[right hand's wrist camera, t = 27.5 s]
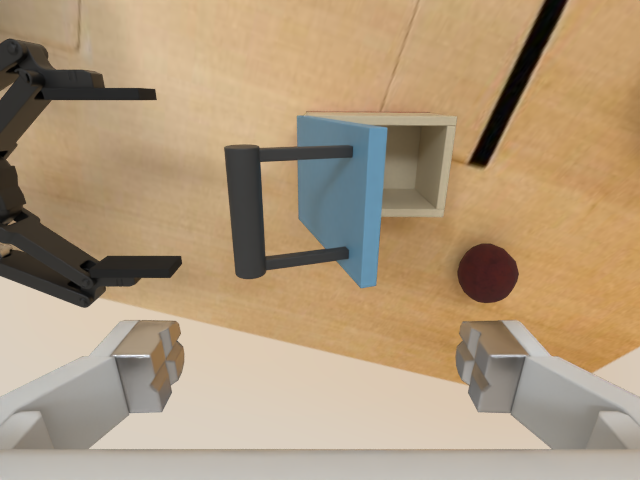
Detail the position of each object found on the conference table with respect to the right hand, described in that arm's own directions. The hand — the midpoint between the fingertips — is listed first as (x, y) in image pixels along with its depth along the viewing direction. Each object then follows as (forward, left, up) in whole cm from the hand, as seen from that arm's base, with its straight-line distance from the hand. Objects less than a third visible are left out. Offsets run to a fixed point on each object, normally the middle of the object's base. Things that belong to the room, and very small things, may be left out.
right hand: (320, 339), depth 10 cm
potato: (-19, +19, -37) cm, 46 cm away
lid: (-1, 0, -19) cm, 20 cm away
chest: (-6, +1, -37) cm, 38 cm away
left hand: (+12, -2, -19) cm, 23 cm away
